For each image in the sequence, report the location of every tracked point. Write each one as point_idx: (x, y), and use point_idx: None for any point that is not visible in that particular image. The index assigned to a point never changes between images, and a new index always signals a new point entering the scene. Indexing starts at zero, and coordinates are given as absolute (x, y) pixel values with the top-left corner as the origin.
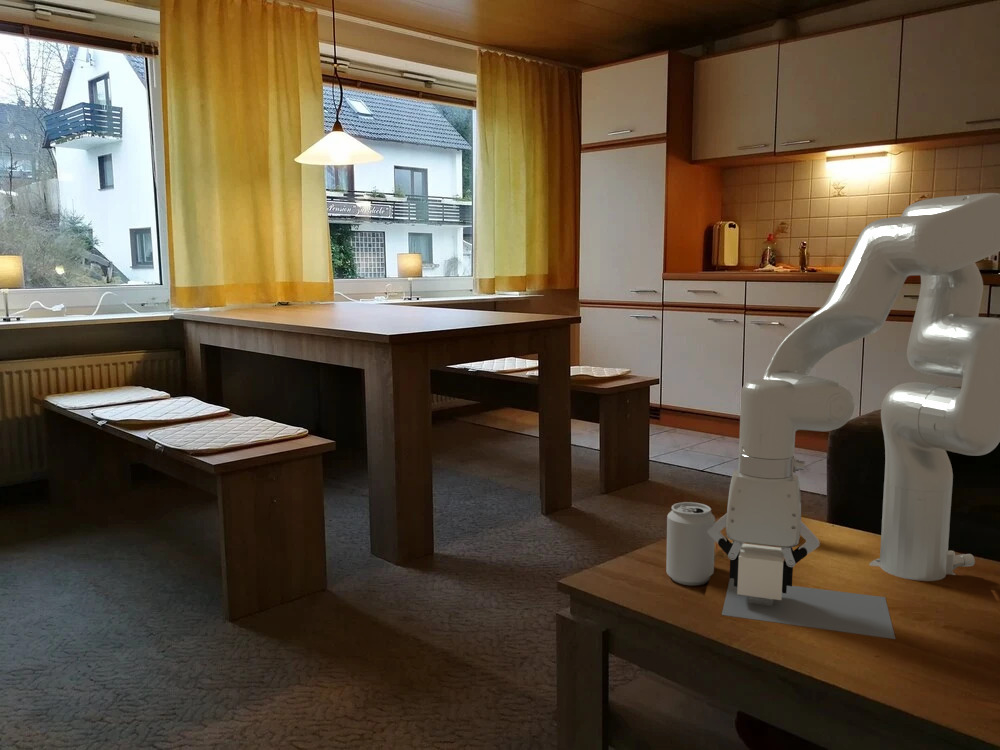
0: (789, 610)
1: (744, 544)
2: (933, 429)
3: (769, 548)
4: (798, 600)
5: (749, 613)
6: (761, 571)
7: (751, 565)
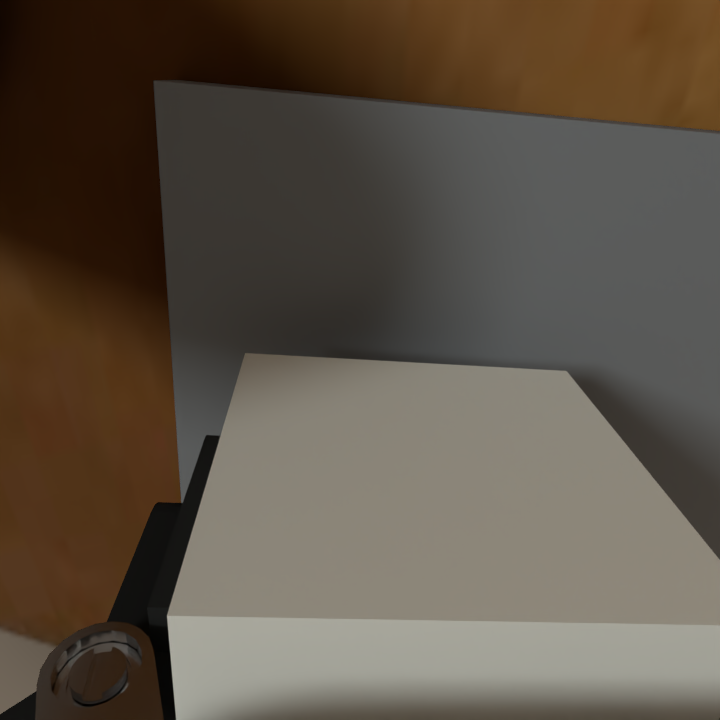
0: None
1: (215, 643)
2: None
3: (561, 679)
4: (625, 386)
5: None
6: None
7: None
